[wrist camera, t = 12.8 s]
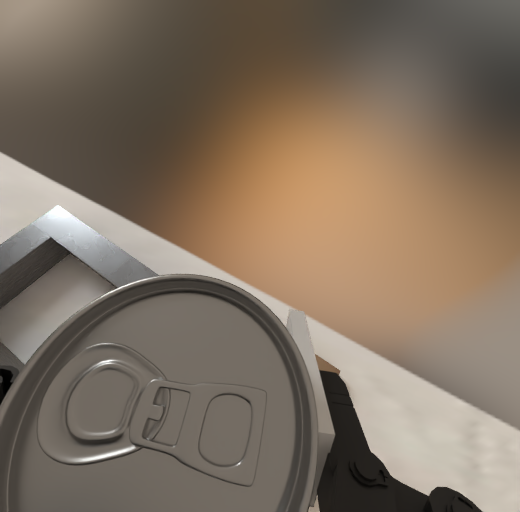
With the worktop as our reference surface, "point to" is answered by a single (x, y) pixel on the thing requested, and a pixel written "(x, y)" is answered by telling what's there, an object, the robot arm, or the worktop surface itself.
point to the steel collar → (59, 258)
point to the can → (162, 407)
